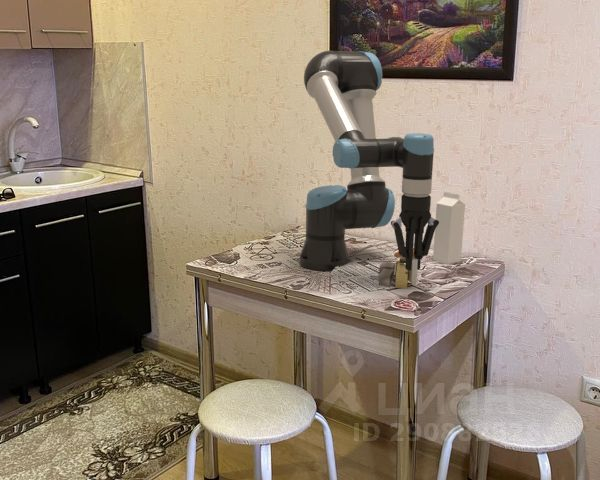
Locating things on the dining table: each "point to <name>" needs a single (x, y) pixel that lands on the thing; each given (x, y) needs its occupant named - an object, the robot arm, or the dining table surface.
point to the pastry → (402, 256)
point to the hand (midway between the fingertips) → (412, 281)
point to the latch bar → (401, 275)
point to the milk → (449, 229)
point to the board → (387, 272)
